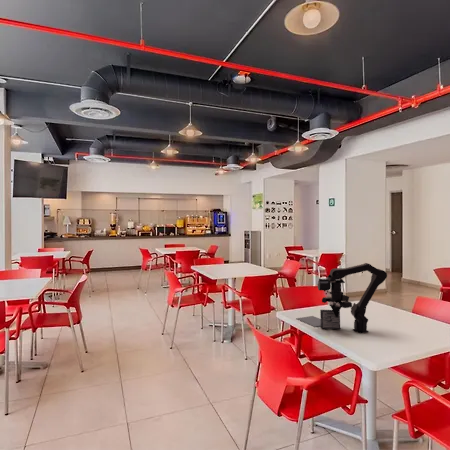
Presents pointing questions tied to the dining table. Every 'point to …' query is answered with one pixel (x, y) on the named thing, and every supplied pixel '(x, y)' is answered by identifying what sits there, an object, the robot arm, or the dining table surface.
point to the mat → (311, 321)
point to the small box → (329, 319)
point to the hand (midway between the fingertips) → (336, 316)
